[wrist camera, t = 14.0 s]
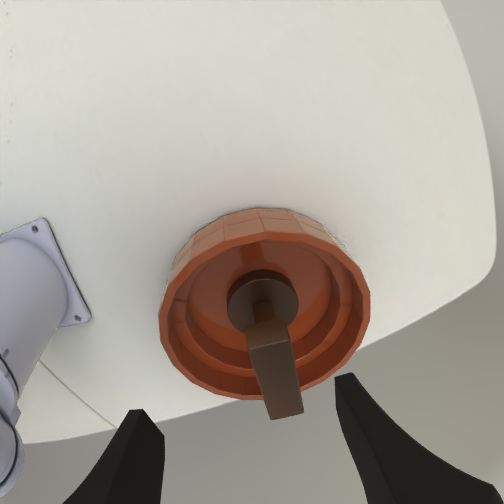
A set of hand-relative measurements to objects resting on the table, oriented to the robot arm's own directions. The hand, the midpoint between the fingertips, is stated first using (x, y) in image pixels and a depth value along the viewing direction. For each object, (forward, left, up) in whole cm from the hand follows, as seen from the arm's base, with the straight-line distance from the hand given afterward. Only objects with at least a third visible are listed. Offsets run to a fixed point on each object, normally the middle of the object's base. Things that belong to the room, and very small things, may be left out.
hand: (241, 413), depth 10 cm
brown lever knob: (+2, -2, -10) cm, 10 cm away
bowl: (+2, -2, -10) cm, 11 cm away
